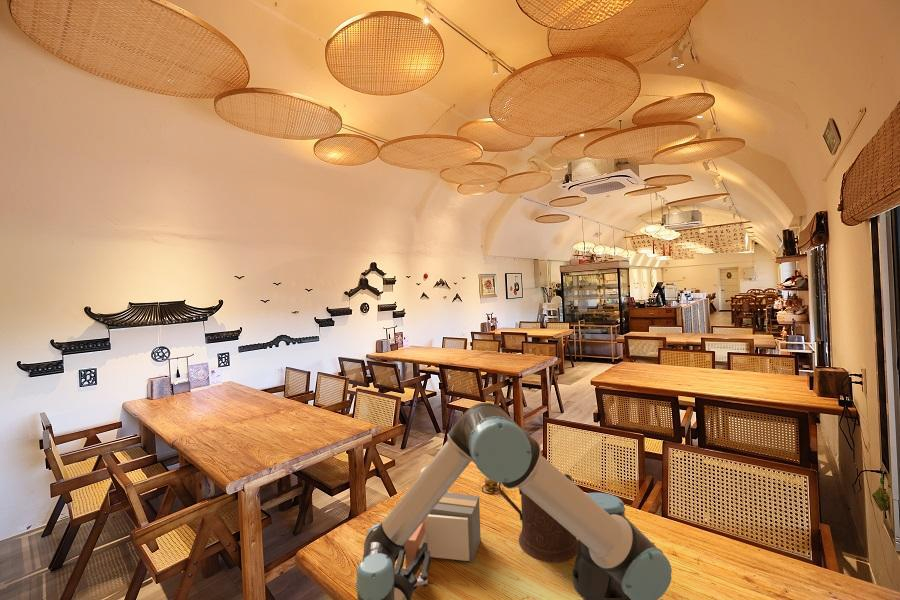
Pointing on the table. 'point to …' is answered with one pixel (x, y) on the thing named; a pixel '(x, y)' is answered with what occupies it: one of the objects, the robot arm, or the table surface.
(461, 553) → the door
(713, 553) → the table surface
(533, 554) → the brown pitcher
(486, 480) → the hamburger
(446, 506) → the carton
